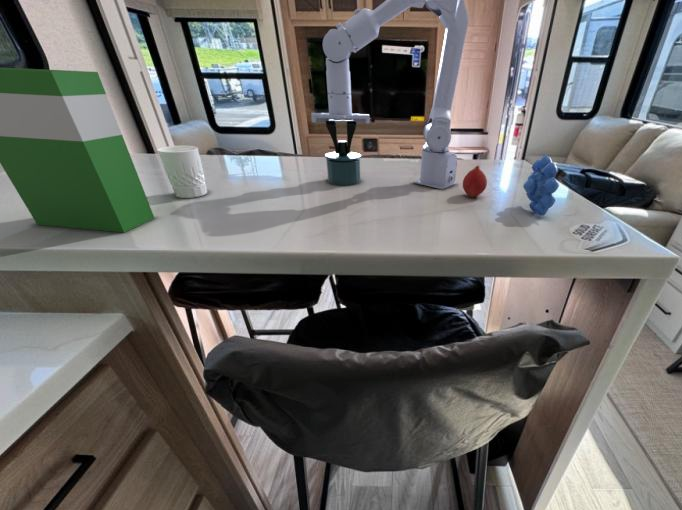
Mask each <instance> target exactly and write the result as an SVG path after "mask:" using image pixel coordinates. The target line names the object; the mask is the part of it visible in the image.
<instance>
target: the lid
mask: <svg viewBox="0 0 682 510" xmlns="http://www.w3.org/2000/svg"><path fill="white" fill-rule="evenodd" d="M337 142H338V153H339V154H336V151H331V152H327V153H324V158H325V159H330V160H333V161H338V162H350V161H354V160H358V159H360V160H361V159H362V154H361V153H358V152H353V151H350V154H347V140H337Z"/></svg>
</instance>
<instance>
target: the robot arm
mask: <svg viewBox="0 0 682 510" xmlns="http://www.w3.org/2000/svg"><path fill="white" fill-rule="evenodd" d="M424 6H426V8H427V9H428V10H429V11H431V13H433V14H434V15H435V16H436V17H438V19H439V21H440V23H441V25H442V26H443V28H444V30H445V31H444V37H443V42H442V49H441V54H440V60H439V66H438V72H437V77H436V82H435V90H434V95H433V99H432V101H433V102H432V107H431V109H430V112H429V117H428V120H427V123H426V124H425V125H424V127H423V132H422V134H423V139H424V141H425V143H424V145H423V146H422V147H421V157H420V158H421V159H420V160H421V161H420V176H419V179H415V180H414V181H413V184H417V185H421V186H426V187H429V188H435V189H438V190H444V189H446V188H450V187H452V186H454V185H456V184H457V182H456V175H457V168H458V156H457V154H456V153H454V152H452V151H450V147H449V145H450V143H451V140H452V132H451V121H452V107H453V102H454V97H455V91H456V88H457V87H456V86H457V82H458V77H459V71H460V66H461V61H462V57H463V52H464V47H465V42H466V37H467V33H468V27H469V15H468V10H467V6H466V2H465V0H384V2H381V4H379V5H378V6H377V7H375V8H374V9H373V10H372V9H369V8H367V7H364V8H362V9H360V8H359V7H357V8H356V9H355V10H354V11H353V13H354V15H353V16H351V17H350V18H349V19H347V20H346V21H344V22H343V23H342V24H341V22H339V23H337V24H336V25H335V26H336V28H331V29H329V30H328V31H327V33H325V34H324V37H323V39H322V50H323V53H324V55H325V67H326V71H325V75H326V89H327V102H328V103H327V104H328V112H311V113H310V117H311V123H325V127H326V129H327V131H328V133H329V136H330V137H331V141H332V143H333V147H334V150H335V151H334V152H336V154H339V153H338V134H337V130H338V129H337V123H341V124H343V123H345V124H346V141H347V154H350V152H351V147H352V141H353V138H354V134H355V132H356V130H357V126H358V125H357V124H371V122H370V121H371V120H370V117H371V116H370V114H369V113H353V103H352V80H351V71H350V60H349V59H350V57H351V55H352V53H354V54H357V52H358V51H360V50H361V49H363V48H364V47H366V46H367V45H368V44H370V43H371V42H373V41H374V40H376V39H377V38H378V37H379V33H380V28H381V27H382V26H383V25H385V24H387V23H388V22H390V21H391V20H393V19H395V18H396V17H398V16H399V15H401V14H402V13H404V12H405V11H407V10H408V9H410V8H418V9H423V8H424Z"/></svg>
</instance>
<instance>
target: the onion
mask: <svg viewBox="0 0 682 510" xmlns="http://www.w3.org/2000/svg"><path fill="white" fill-rule="evenodd" d="M487 185H488V179H487V176H486V174H485V173H484V172H483V170H481V168H480V165H476V166H475V167H473V168H472V169H470V170H469V171H468V172H467V173H466V175H465V176H464V177H463V179H462V188H463V190H464V192H465V193H466V194H467V196H468V197H469V198H477V197H479V196H480V195H481V194H482V193H484V191H485V190H486V188H487Z"/></svg>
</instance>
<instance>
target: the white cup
mask: <svg viewBox="0 0 682 510" xmlns="http://www.w3.org/2000/svg"><path fill="white" fill-rule="evenodd" d="M156 151H157V154H158V156H159V159H160V162H161V164H162V167H163V170H164V172H165V174H166V176H167V179H168V182H169V183H170V185H171V188H172V190H173V193H174V195H175V196H176V198H180V199H193V198H199V197H203V196H205V195H207V194H208V188H207V184H206V178H205V172H204V169H203V163H202V160H201V155H200V151H199V147H198V146H194V145H169V146H164V147H163V146H162V147H159V148H157V149H156Z"/></svg>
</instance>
